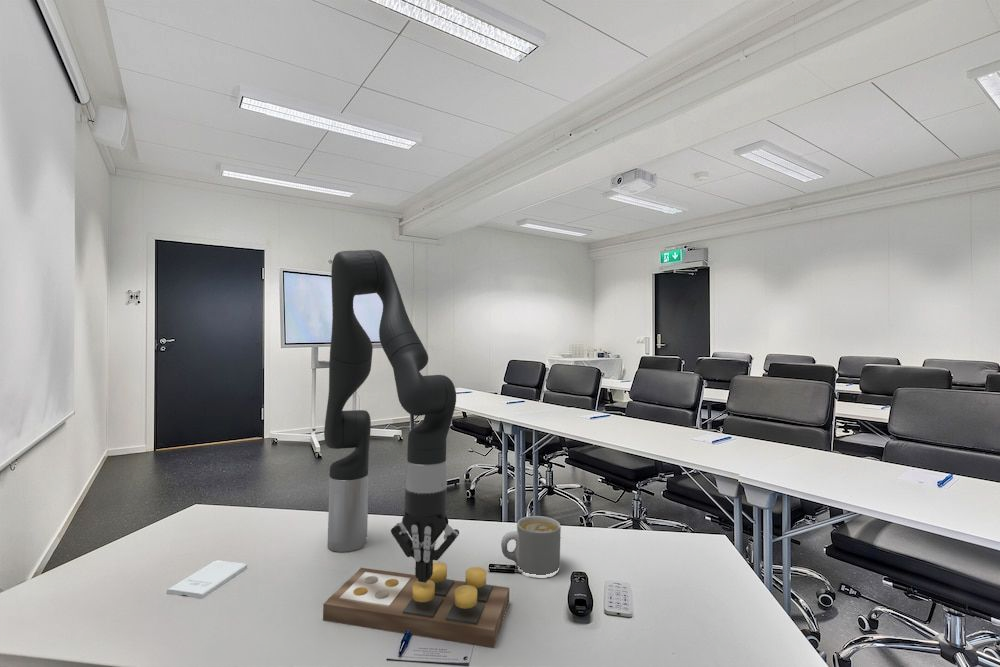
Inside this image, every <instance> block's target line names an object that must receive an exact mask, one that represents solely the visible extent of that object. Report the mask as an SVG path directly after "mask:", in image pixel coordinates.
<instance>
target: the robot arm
mask: <svg viewBox="0 0 1000 667" xmlns="http://www.w3.org/2000/svg"><path fill="white" fill-rule="evenodd" d="M331 263H332V264H331V272H330V275H331V278H330V279H331V306H332V310H331V311H332V313H331V314H332V315H331V316H332V317H331V318H332V319H331V321H332V322H331V323H332V324H331V338H330V346H329V347H330V348H329V349H330V350H329V361H328V362H329V363H328V364H329V368H328V369H329V370H328V374H329V375H328V376H329V377H328V396H327V405H326V412H325V420H324V421H325V422H324V430H323V432H324V433H323V437H324V438H323V439H324V444H325V445H326V447H327V448H329V449H334V450H335V449H338V450H339V449H354V450H353V451H352V452H351V453H350V454H348V455H346V456H345V457H343V458H341V459H338V460H336V461H334V462H332V464H330V466H329V477H328V478H329V480H328V481H329V486H328V513H327V514H328V519H327V520H328V521H327V549H329V550H330V551H332V552H333V551H334V552H338V553H341V552H342V553H344V552H345V553H346V552H353V551H357V550H359V549H361V548H363V547H364V546H365V545H366V544H367V538H368V522H369V521H368V519H369V517H368V515H369V511H368V510H369V502H368V500H369V499H368V498H369V497H368V496H369V493H368V492H369V490H368V488H369V459H370V458H369V457H370V456H369V452H370V441H371V440H370V439H371V428H372V424H371V422H372V421H371V415H370V413H369V412H368V410H366V409H365V410H364V409H363V410H361V409H360V410H359V409H357V410H356V409H355V410H352V409H351V410H343V409H344V407H345V405H346V403H347V402H348V400H350V398H351V397H352V396H353V395H354V393H355V392H356V391H357V390H359V389H360V387H361V386H362V385H363V384H364V383H365V381H366V380H367V379H368V377H369V375H370V373H371V368H372V360H373V359H372V358H373V342H372V341H371V338H370V337H369V335H368V333H367V332H366V330H365V329H364V328H363V326H362V325H361V323H360V322H359V320H358V318H357V316H356V315H355V310H354V298H355V296H360V295H361V296H362V295H371V294H377V295H378V297H379V298H380V300H381V302H382V314H381V318H380V323H379V327H378V329H379V330H378V335H379V336H378V337H379V342H380V345H381V347H382V349H383V352H384V354H385V355H386V357H387V360H388V361H389V364H390V365H391V367H392V371H393V375H394V382H395V386H396V387H395V388H396V393H397V398H398V401H399V404H400V406H401V408H402V409H403V410H405V412H406V413H408V414H409V415H411V416H415V417H416V416H417V417H419V416H424V417H423V421H422V422H421V423H420V424H419V425H418V426H416V427H413V428H412V429H411V430H410V431H409V432H408V436H407V455H406V456H407V459H406V460H407V461H406V467H405V468H406V469H405V476H404V488H405V489H404V514H403V516H402V518H401V521H400V522H398V523H396V524H395V525H394V526H393V527H392V528H391V529H390V533H391V535H392V537H393V538H394V540H395V541H396V543H397V544H398V545H399V547H400V549H401V550H402V552H403V553H404V555H405V556H406V558H410V557H411V558H413V559H414V561H415V571H414V575H415V576H416V578H418V582H424V583H426V582H427V581H428V580H429V579H430V578H431V576H432V574H433V563H434V561H438V560H439V559H440V558H441V557H442V555H443V554H445V552H446V551H447V550H448V549H449V547H450V546H452V544H453V543H454V542H455V540H456V539H457V538H458V536H459V535H460V530H459V529H456V528H455V529H453V527H452V526H450V525H449V519H448V516H447V497H448V496H447V492H448V491H447V490H448V489H447V486H448V468H447V437H448V434H449V431H450V427H451V424H452V420H453V416H454V413H455V409H456V404H457V391H456V387H455V385H454V383H453V381H452V380H451V378H449V377H448V376H446V375H444V374H433V375H429V374H428V375H423V374H422V373H421V371H422V370H423V369H424V368H426V366H427V365H428V363H429V354H428V352H427V350H426V348H425V345H423V343H422V341H421V339H420V337H419V335H418V334H417V332H416V330H415V328H414V326H413V324H412V322H411V320H410V318H409V315H408V313H407V310H406V308H405V304H404V301H403V298H402V295H401V293H400V290H399V287H398V284H397V281H396V279H395V275H394V273H393V270H392V267H391V266H390V263H389V261H388V259H387V258H386V256H385V255H384V253H383V252H381V251H379V250H375V249H362V250H358V249H357V250H341V251H338V252H337V253H335V254H334V256H333V259H332V262H331ZM443 532H444V535H443V539H444V541H443V542H442V544H440V546H439V547H438V548H437V549H436V544H437V540H438V538H439V537H440V536H441V535H442V533H443ZM366 537H367V538H366Z"/></svg>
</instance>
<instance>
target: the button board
mask: <svg viewBox="0 0 1000 667" xmlns="http://www.w3.org/2000/svg"><path fill="white" fill-rule="evenodd" d="M416 581H418V578H416V576H415V574H411V573H404V572H396V571H389V570H382V569H374V568H373V569H372V568H366V567H360V568H359V569H358V570H356V572H355V573H353V575H352V576H351V577H350V578H348V580H346V581H345V582H344V583H343V584H342V585H341V586H340V587H339V588H338V589H337V590H336V591H335V592H334V593H333V594H332V595H331V596H330V597H329V598H328V599H326V600H325V602H324V603H323V604H322V605H323V606H322V607H323V608H322V610H323V611H322V621H325V622H332V623H338V624H344V625H350V626H357V627H363V628H368V629H369V628H370V629H375V630H381V631H387V632H394V633H399V634H404V633H405V632H406V631H407V630H409V631H410V633H411V634H412V635H411V634H410V635H411V636H416V637H418V636H419V637H423V638H430V639H436V640H441V641H447V642H455V643H459V644H467V645H473V646H477V647H478V646H480V647H486V648H490V649H494V648H495V645H496V642H497V639H498V636H499V634H500V632H501V631H500V630H501V627H502V624H503V622H504V619H505V616H506V613H507V610H508V607H509V605H508V603H509V604H510V587H507V586H501V585H500V586H498V585H493V584H488V583H486V585H485V586H483V587H480V588H476V589H477V604H476V605H475V606H474V607H472V608H467V609H464V608H459V607H457V606H456V605H455V589H456V588H457V587H459V586H462V585H466V583H465V582H466V581H462V580H454V579H449V578H446V579H445V580H444V581H442V582H434V583H435V597H434V598H433V599H432V600H430V601H428V602H417V601H415V600H414V599H413V597H412V596H413V584H414V583H415V582H416ZM507 606H508V607H507ZM506 609H507V610H506ZM505 612H506V613H505ZM504 615H505V616H504ZM503 618H504V619H503ZM502 621H503V622H502Z"/></svg>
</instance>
